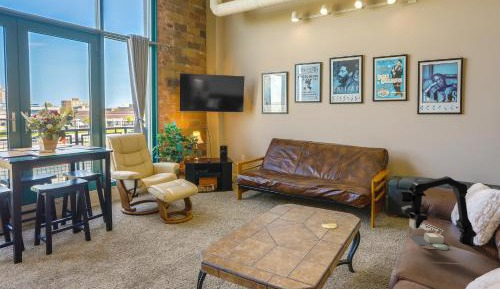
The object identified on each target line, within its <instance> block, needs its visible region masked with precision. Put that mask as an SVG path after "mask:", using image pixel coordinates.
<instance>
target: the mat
mask: <svg viewBox="0 0 500 289" xmlns="http://www.w3.org/2000/svg"><path fill="white" fill-rule="evenodd" d="M408 237H409V238H410V240H412V241H413V242H414V243H416V244H417V245H418V246H419V247H422V246H425V245H426V246H427V245H429V246H431V247H433V246H432V245H433V243H428V242H427V241H426V240H425V239H424V235H408ZM440 244H444V245H446V244H445V243H444V242H443V243H440ZM437 251H440V250H439V249H438V250H437ZM447 251H452V252H453V249H452V248H450V247H449V249H448V250H447Z"/></svg>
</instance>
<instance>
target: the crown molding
mask: <svg viewBox="0 0 500 289" xmlns="http://www.w3.org/2000/svg"><path fill="white" fill-rule="evenodd" d="M421 224H422V225H420V229H422V230H424V231H425V233H429V231H434V232H433V233H434V234H438V233H439V232H440V233H439V234H440V235H441V234H442V233H443V232H444V229H441V228H439V227H436V226H434V225H432V224H428V223H427V224H428V225H430V226H433V227H435V228H438V229H440V230H442V231H439V230H438V229H435V228H433V227H430V226H428V225H425V224H426V223H421ZM426 226H428V227H430V228H428V227H427V228H426ZM431 228H432V230H431ZM433 229H434V230H433Z"/></svg>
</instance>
